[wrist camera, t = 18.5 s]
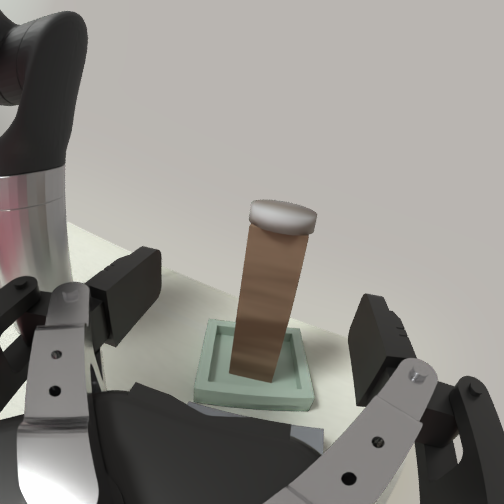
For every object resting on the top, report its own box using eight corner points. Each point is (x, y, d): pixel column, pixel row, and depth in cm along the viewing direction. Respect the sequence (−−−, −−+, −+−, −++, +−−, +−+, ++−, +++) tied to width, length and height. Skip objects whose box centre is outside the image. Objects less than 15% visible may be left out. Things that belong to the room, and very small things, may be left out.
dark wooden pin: (275, 387, 23) (318, 223, 18) (223, 375, 24) (244, 208, 18) (280, 353, 28) (316, 208, 22) (235, 343, 28) (257, 196, 23)
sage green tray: (193, 401, 21) (193, 388, 20) (207, 332, 30) (208, 318, 30) (308, 411, 22) (314, 397, 21) (295, 342, 31) (299, 328, 30)
